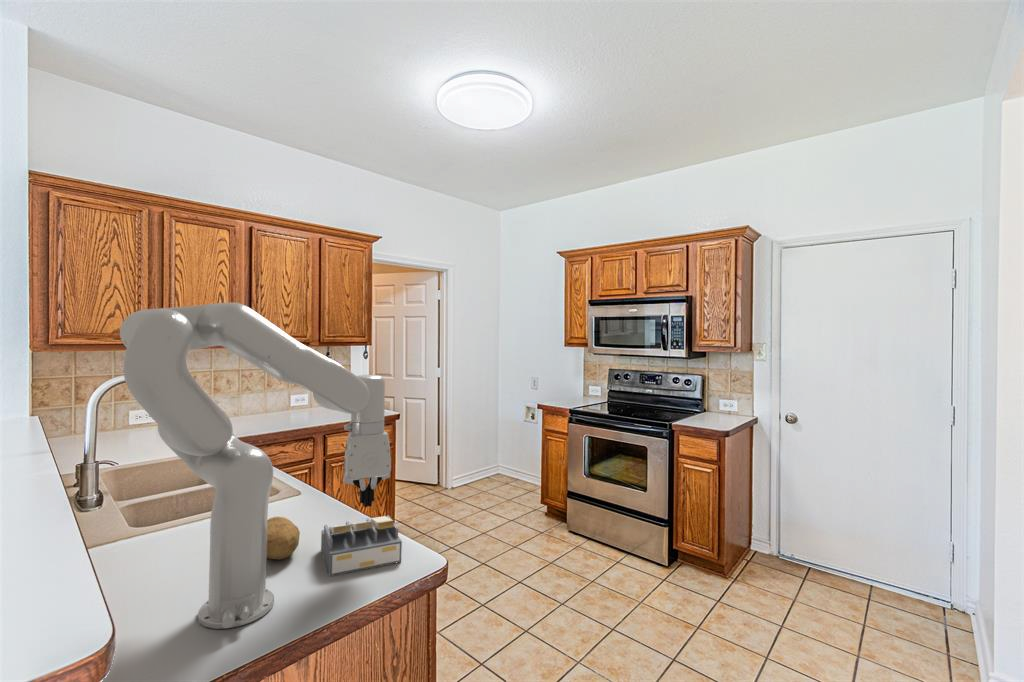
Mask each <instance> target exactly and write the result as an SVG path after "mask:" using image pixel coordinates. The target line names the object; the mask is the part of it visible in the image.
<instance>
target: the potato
mask: <svg viewBox="0 0 1024 682" xmlns="http://www.w3.org/2000/svg"><path fill="white" fill-rule="evenodd" d="M300 534H301V533H300V530H299V528H298V526H297V525H296V524H295V523H293V521H291V520H290V519H289V518H286V517H285V516H273V517H270V518H267V558H266V559H269V560H282V561H283V560H284V559H286V558H288V557H289V556H292V555H293V553H294V552H295V551H296V549H297V548H298V546H299V543H300Z"/></svg>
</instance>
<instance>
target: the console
mask: <svg viewBox="0 0 1024 682" xmlns="http://www.w3.org/2000/svg"><path fill="white" fill-rule="evenodd" d="M386 517H388V518H390V519H391V520H393V519H392V518H391V516H390V515H389V514H388V515H386ZM369 521H371V518H366V521H365V522H369ZM350 524H351V523H350V522H349V521H345V525H350ZM402 543H403V541H402V539H401V538H400V537H399V527H398V525H397V524H396V523H395V522H394V527H391V528H385V529H377V528H376V527H375V526H374V525H373V528H368V529H362V530H352V528H351V531H349V532H343V533H337V534H330V531H329V526H328V525H327V524H324V525H323V529H322V530H321V543H320V545H321V546H320V551H322V552H321V555H322V554H323V555H322V557H324V558H323V561H324V564H325V568H326V570H328V571H327V574H328V573H329V574H328V577H333V576H339V574H340V575H344V574H348V573H349V572H350V573H353V572H354V571H355V572H359V570H360V571H364V570H363V569H365V570H369V569H368V568H370V569H374V568H373V567H375V568H378V567H377V566H380V567H384V566H383V565H385V566H388V565H387V564H390V565H393V564H392V563H395V564H397V563H396V562H400V563H402V552H403V551H402V550H403V549H402V546H403V544H402ZM381 565H382V566H381ZM355 572H354V573H355Z"/></svg>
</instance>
